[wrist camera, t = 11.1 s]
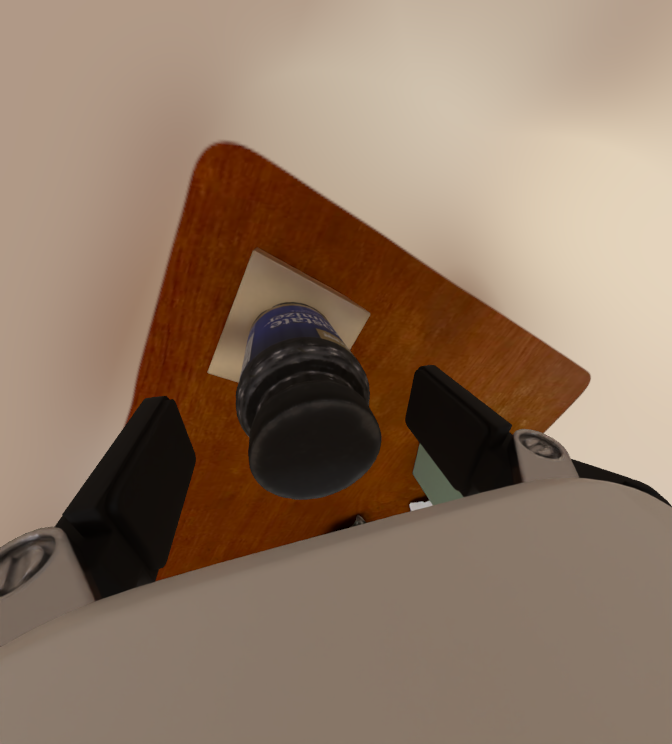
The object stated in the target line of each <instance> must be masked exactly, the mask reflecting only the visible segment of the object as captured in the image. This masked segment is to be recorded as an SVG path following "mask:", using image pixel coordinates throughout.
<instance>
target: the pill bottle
mask: <svg viewBox="0 0 672 744" xmlns="http://www.w3.org/2000/svg"><path fill="white" fill-rule="evenodd" d="M369 395H370V392H369V383H368V380H367V377H366V373H365V372H364V370H363V368H362V367H361V365H360V363H359V362H358V361H357V359H356V358H355V357H354V355H353V354H352V353H351V351H350V350H349V349H348V347H347V346H346V345H345V343H344V342H343V341H342V339H341V338H340V337H339V335H338V334H337V333H336V331H335V330H334V329H333V327H332V326H331V325H330V323H329V322H328V320H327V319H326V317H325V316H324V315H323V314H321V313H320V312H319V311H318V310H316V309H315V308H313V307H310V306H308V305H306V304H302V303H296V302H285V303H280V304H277V305H275V306H273V307H272V308H271V309H269V310H266V311H264V312H262V313H261V314H260V315H259V316H258V317H257V318H256V320H255V321H254V323H253V324H252V326H251V329H250V331H249V335H248V339H247V345H246V350H245V355H244V360H243V365H242V370H241V374H240V379H239V384H238V387H237V391H236V411H237V417H238V419H239V422H240V424H241V426H242V428H243V430H244V431H245V433H246V434H247V435H248V436H249V438H250V440H249V450H248V456H249V465H250V469H251V472H252V474H253V476H254V478H255V479H256V480H257V482H258V483H259V484H260V485H261V486H262V487H263V488H265V489H266V490H267V491H269V492H271V493H273V494H275V495H278V496H281V497H284V498H292V499H299V500H301V499H312V498H320V497H324V496H327V495H331V494H334V493H336V492H338V491H340V490H342V489H345V488H347V487H348V486H350V485H351V484H353V483H354V482H356V481H357V480H358V479H359V478H361V477H362V476H363V475H364V474H365V473H366V472H367V471H368V470H369V469H370V467H371V466H372V464H373V463H374V461H375V460H376V457H377V455H378V453H379V450H380V446H381V432H380V428H379V425H378V423H377V421H376V419H375V417H374V415H373V413H372V412H371V410H370V408H369V399H370V398H369Z"/></svg>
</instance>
